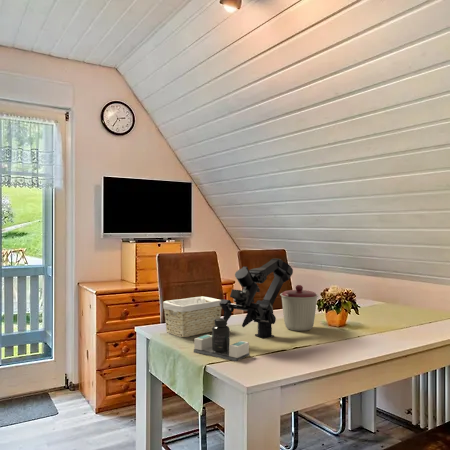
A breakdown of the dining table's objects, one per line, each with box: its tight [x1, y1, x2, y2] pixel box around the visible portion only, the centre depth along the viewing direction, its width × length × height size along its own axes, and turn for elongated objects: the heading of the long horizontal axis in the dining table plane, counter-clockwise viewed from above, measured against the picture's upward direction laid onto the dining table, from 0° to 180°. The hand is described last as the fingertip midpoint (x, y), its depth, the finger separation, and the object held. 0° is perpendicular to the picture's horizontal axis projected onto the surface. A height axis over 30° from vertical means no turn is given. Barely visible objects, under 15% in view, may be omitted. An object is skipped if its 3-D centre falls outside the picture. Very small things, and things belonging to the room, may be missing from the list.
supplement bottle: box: [211, 317, 231, 353], centre depth 166 cm, size 7×7×12 cm
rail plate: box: [193, 347, 251, 362], centre depth 166 cm, size 20×9×1 cm, turn 55°
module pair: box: [193, 334, 250, 358], centre depth 166 cm, size 20×8×4 cm, turn 55°
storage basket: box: [162, 295, 223, 338], centre depth 201 cm, size 24×16×15 cm
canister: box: [279, 284, 319, 332], centre depth 208 cm, size 18×18×21 cm
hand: (233, 325), depth 172 cm, fingers open, 9 cm apart
